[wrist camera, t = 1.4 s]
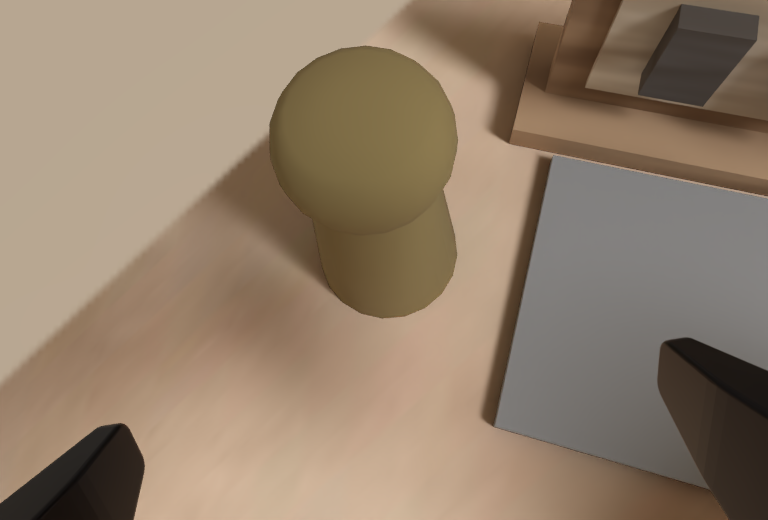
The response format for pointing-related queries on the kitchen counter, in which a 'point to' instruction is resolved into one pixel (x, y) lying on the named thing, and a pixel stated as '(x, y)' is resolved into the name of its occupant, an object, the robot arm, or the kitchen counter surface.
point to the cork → (371, 175)
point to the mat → (629, 308)
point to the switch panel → (654, 89)
